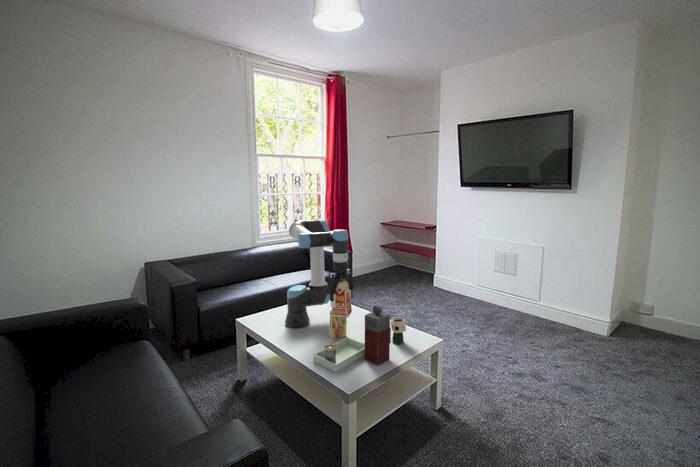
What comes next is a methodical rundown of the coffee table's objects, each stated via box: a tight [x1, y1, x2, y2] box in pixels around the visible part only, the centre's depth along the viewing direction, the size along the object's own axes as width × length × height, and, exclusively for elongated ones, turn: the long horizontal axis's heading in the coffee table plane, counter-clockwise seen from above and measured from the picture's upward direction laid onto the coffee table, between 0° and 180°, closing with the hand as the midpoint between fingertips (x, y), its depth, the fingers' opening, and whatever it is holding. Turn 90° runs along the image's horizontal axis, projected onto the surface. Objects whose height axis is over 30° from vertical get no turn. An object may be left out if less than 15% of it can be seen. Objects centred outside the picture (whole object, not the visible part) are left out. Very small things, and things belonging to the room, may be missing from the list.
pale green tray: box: [312, 336, 365, 374], centre depth 173 cm, size 15×25×4 cm, turn 139°
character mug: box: [390, 316, 407, 345], centre depth 189 cm, size 11×7×13 cm, turn 39°
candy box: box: [329, 310, 347, 340], centre depth 196 cm, size 9×4×15 cm, turn 116°
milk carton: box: [330, 279, 353, 319], centre depth 172 cm, size 9×9×20 cm
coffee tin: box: [324, 343, 336, 364], centre depth 166 cm, size 6×6×8 cm
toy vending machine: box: [364, 304, 392, 366], centre depth 170 cm, size 9×11×28 cm
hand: (341, 304), depth 173 cm, fingers closed on milk carton, 10 cm apart
